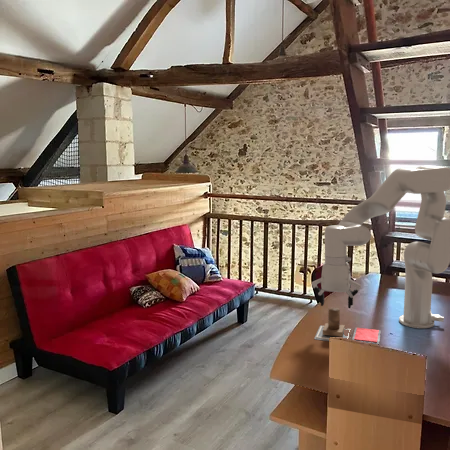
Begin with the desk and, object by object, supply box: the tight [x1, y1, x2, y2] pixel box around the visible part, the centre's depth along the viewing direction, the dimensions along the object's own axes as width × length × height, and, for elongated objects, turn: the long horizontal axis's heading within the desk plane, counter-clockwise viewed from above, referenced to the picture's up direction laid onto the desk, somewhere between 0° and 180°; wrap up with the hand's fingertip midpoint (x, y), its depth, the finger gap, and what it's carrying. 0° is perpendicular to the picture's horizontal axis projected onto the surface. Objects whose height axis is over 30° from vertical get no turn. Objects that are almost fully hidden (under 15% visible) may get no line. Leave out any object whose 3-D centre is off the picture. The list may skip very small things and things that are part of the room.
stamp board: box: [314, 325, 352, 342], centre depth 168 cm, size 12×13×1 cm
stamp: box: [323, 307, 346, 337], centre depth 167 cm, size 7×7×9 cm
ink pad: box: [351, 327, 381, 346], centre depth 164 cm, size 9×12×2 cm
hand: (336, 305), depth 166 cm, fingers open, 9 cm apart
